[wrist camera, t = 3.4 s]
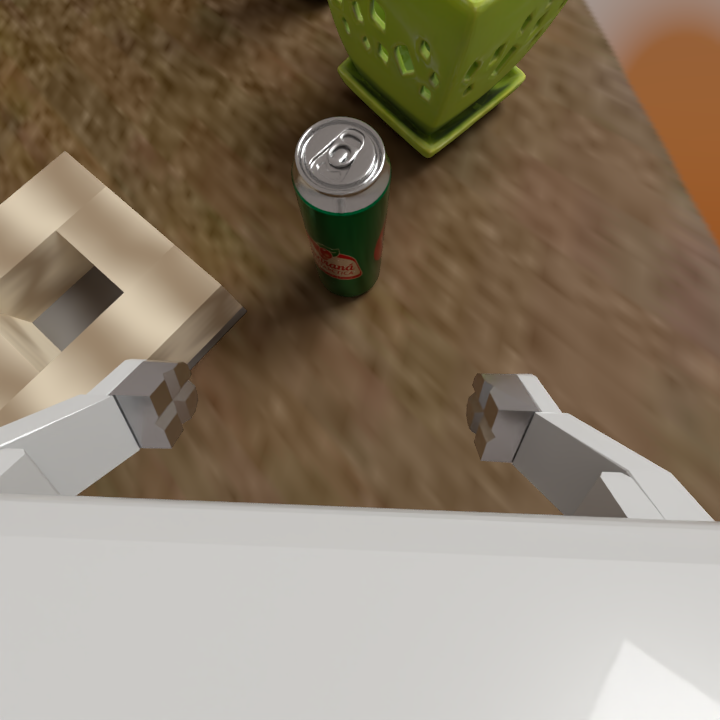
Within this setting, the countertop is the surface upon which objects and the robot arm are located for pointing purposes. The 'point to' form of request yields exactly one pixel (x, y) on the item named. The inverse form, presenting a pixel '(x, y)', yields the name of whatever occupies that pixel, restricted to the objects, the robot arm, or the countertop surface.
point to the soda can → (343, 201)
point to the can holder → (92, 291)
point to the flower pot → (436, 59)
